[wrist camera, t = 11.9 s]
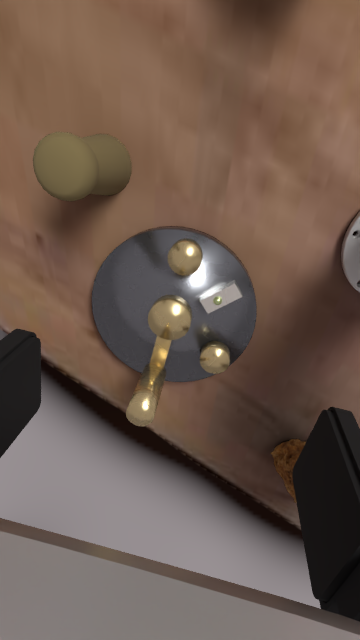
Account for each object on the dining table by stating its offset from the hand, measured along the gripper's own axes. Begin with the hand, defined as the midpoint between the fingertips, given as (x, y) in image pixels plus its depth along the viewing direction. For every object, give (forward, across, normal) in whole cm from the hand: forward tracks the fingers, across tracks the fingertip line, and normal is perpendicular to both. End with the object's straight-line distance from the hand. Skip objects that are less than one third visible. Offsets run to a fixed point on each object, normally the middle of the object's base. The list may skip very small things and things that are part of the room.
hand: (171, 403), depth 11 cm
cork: (+29, +13, -4) cm, 33 cm away
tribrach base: (+29, +3, +10) cm, 31 cm away
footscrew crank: (+27, +3, +14) cm, 31 cm away
